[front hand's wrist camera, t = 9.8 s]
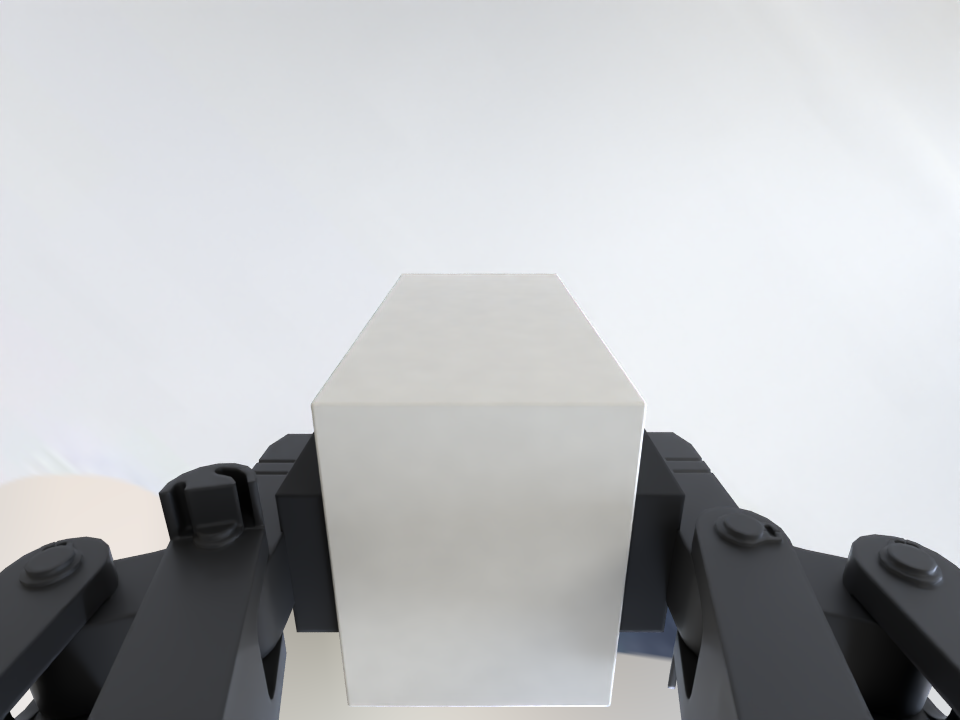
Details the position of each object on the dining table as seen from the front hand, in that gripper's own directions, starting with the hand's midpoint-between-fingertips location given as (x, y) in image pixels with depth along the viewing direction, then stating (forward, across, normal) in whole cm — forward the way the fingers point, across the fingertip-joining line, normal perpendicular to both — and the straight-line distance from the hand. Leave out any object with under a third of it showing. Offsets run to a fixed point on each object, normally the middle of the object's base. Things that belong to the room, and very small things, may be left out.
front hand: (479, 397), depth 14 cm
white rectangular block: (+3, 0, 0) cm, 3 cm away
